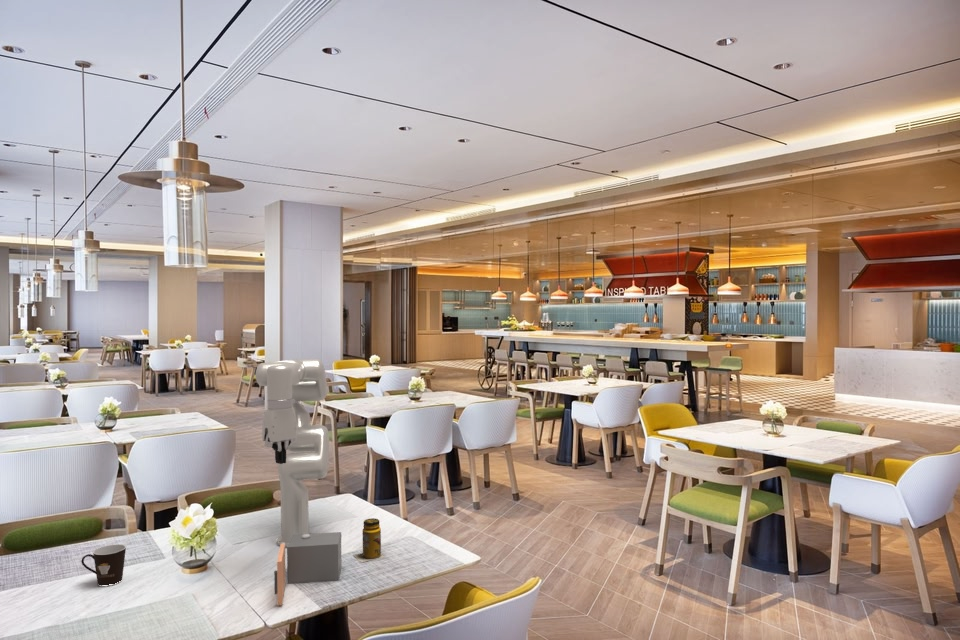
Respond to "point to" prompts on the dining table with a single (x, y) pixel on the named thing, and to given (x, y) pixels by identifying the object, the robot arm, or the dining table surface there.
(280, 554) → the door
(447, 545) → the dining table surface
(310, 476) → the robot arm
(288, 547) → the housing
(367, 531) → the condiment
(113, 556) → the coffee mug
